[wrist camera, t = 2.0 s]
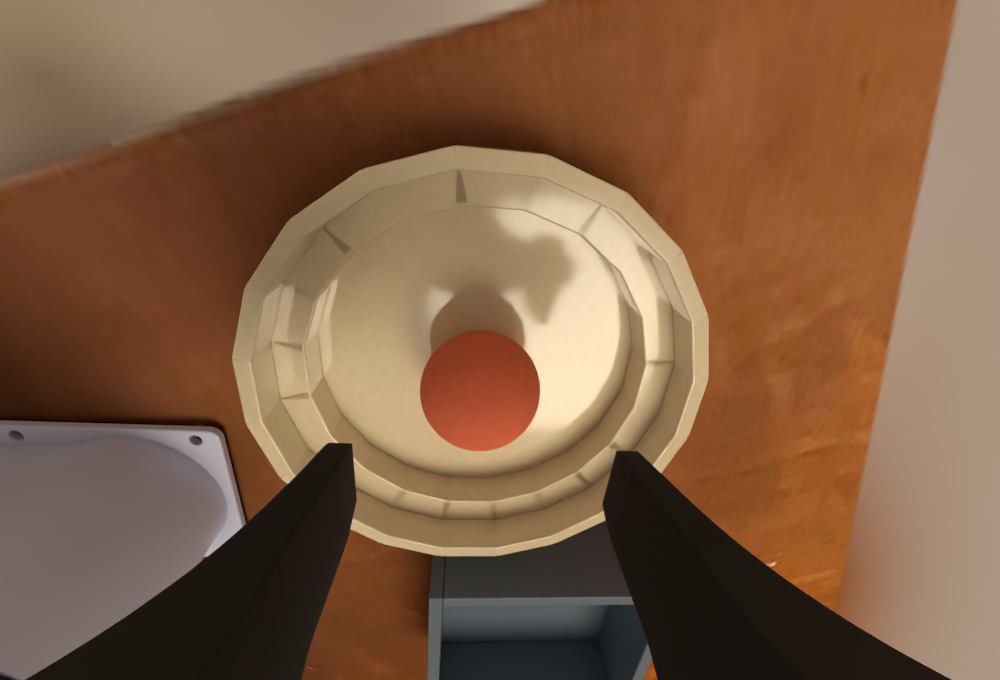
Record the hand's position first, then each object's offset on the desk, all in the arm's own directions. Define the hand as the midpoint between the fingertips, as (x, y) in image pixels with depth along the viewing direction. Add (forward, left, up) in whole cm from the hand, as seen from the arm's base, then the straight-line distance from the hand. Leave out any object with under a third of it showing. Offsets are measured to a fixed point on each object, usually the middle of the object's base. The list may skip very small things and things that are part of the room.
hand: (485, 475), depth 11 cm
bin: (+4, -15, -7) cm, 17 cm away
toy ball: (0, 0, -6) cm, 7 cm away
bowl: (0, 0, -7) cm, 7 cm away
